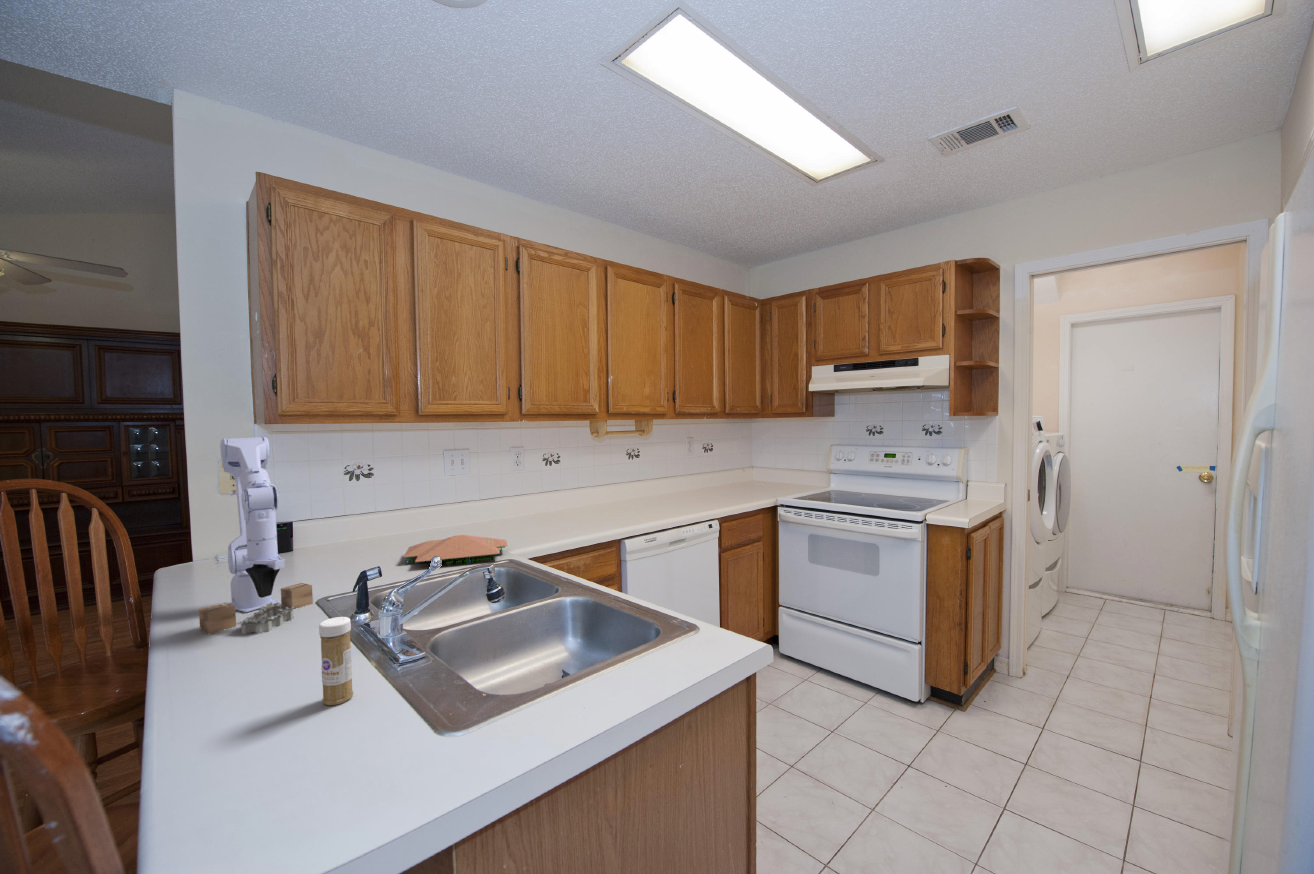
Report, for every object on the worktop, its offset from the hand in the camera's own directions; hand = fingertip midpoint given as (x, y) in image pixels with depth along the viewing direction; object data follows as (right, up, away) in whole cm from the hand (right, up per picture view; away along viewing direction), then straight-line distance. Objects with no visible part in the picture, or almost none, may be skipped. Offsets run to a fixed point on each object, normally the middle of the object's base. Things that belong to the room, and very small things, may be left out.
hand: (265, 596), depth 126 cm
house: (+23, -5, +58) cm, 63 cm away
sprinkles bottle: (+38, -7, -35) cm, 52 cm away
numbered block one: (-2, -7, +14) cm, 15 cm away
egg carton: (+1, -7, 0) cm, 7 cm away
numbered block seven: (-10, -7, -1) cm, 13 cm away
